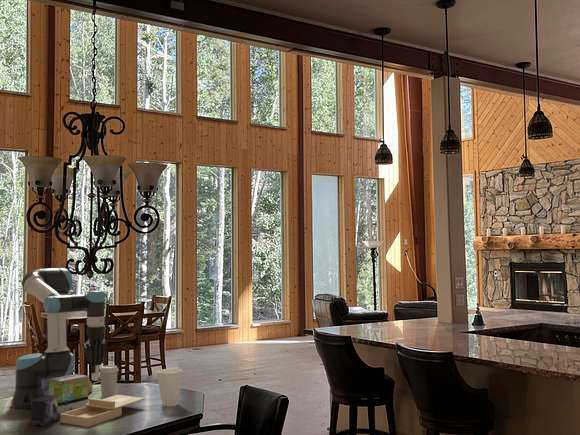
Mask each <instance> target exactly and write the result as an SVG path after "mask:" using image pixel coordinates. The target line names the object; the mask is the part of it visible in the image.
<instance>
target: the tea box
mask: <svg viewBox="0 0 580 435" xmlns="http://www.w3.org/2000/svg"><path fill="white" fill-rule="evenodd" d="M89 380H90V376H89V375H84V374H78V373H74V374H71V375H68V376H63V377H58V378H52V379H49V380H48V381H49V382H48V395H52V396H58V414H62V413H65V412H69V411H72V410H75V409H78V408H82V407H85V406H87V405H86V404H88V403H89V393H88V389H89Z"/></svg>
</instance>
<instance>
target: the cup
mask: <svg viewBox="0 0 580 435" xmlns="http://www.w3.org/2000/svg"><path fill="white" fill-rule="evenodd" d="M156 373H157V379H158V387H159V388H158V389H159V393H160V394H159V395H160V400H161V405H163V406H162V407H165V406H167V407H168V408H170V407H171V406H172V407H176V406H178V402H179V401H178V400H179V398H180V390H181V382H182V375H183V369H181V368H163V369H159V370H157V371H156ZM167 407H166V408H167Z"/></svg>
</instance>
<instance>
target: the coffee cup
mask: <svg viewBox="0 0 580 435" xmlns="http://www.w3.org/2000/svg"><path fill="white" fill-rule="evenodd" d="M119 371H120V370H119V368H118V366H117V365H113V364H111V365H104V366H100V371H99V380H100V390H101V398H102V399H105V398H108V397H111V396H115V395H117V382H118V374H119V373H118V372H119Z"/></svg>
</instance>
